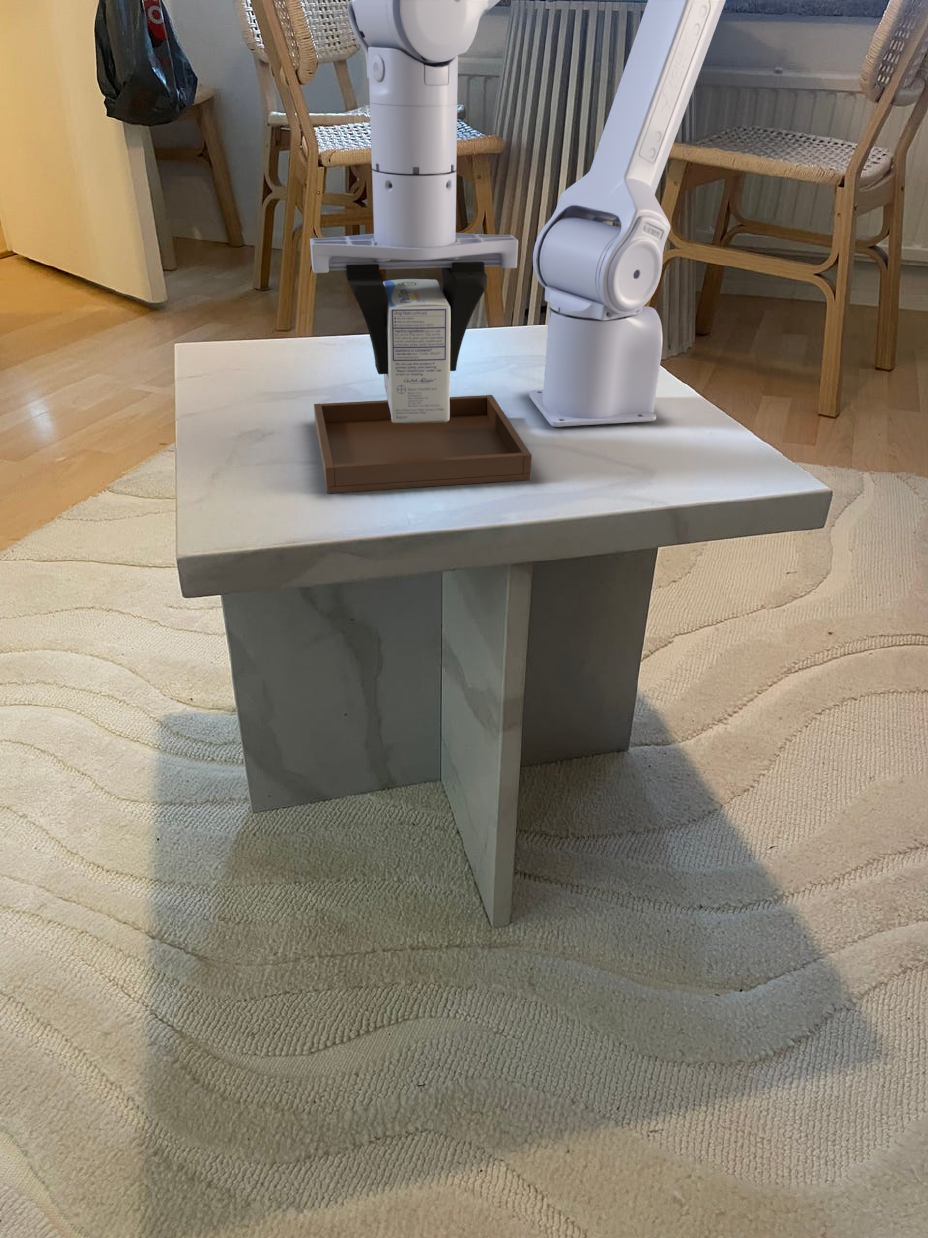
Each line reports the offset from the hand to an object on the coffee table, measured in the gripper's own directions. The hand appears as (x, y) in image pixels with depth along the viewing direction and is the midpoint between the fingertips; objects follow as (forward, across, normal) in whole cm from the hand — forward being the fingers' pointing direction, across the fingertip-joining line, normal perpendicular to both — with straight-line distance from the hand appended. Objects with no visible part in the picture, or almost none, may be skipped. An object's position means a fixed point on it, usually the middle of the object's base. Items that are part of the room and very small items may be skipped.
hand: (416, 368), depth 69 cm
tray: (+7, 0, 0) cm, 7 cm away
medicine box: (+3, 0, 0) cm, 3 cm away
